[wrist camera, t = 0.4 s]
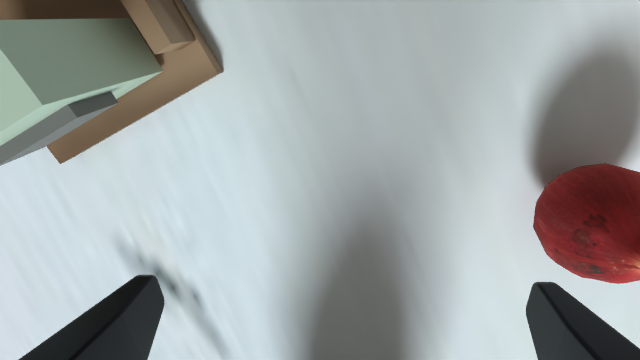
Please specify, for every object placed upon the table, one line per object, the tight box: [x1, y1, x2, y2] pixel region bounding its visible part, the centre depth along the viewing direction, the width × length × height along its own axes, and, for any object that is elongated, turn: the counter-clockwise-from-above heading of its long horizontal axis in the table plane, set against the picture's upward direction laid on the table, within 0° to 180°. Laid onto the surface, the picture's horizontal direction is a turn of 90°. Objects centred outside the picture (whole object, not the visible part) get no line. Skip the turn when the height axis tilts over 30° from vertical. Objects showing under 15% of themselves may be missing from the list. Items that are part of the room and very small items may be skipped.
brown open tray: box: [0, 0, 223, 164], centre depth 20 cm, size 12×12×5 cm
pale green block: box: [0, 18, 163, 166], centre depth 18 cm, size 4×7×9 cm, turn 118°
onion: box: [533, 163, 640, 284], centre depth 20 cm, size 6×6×8 cm
